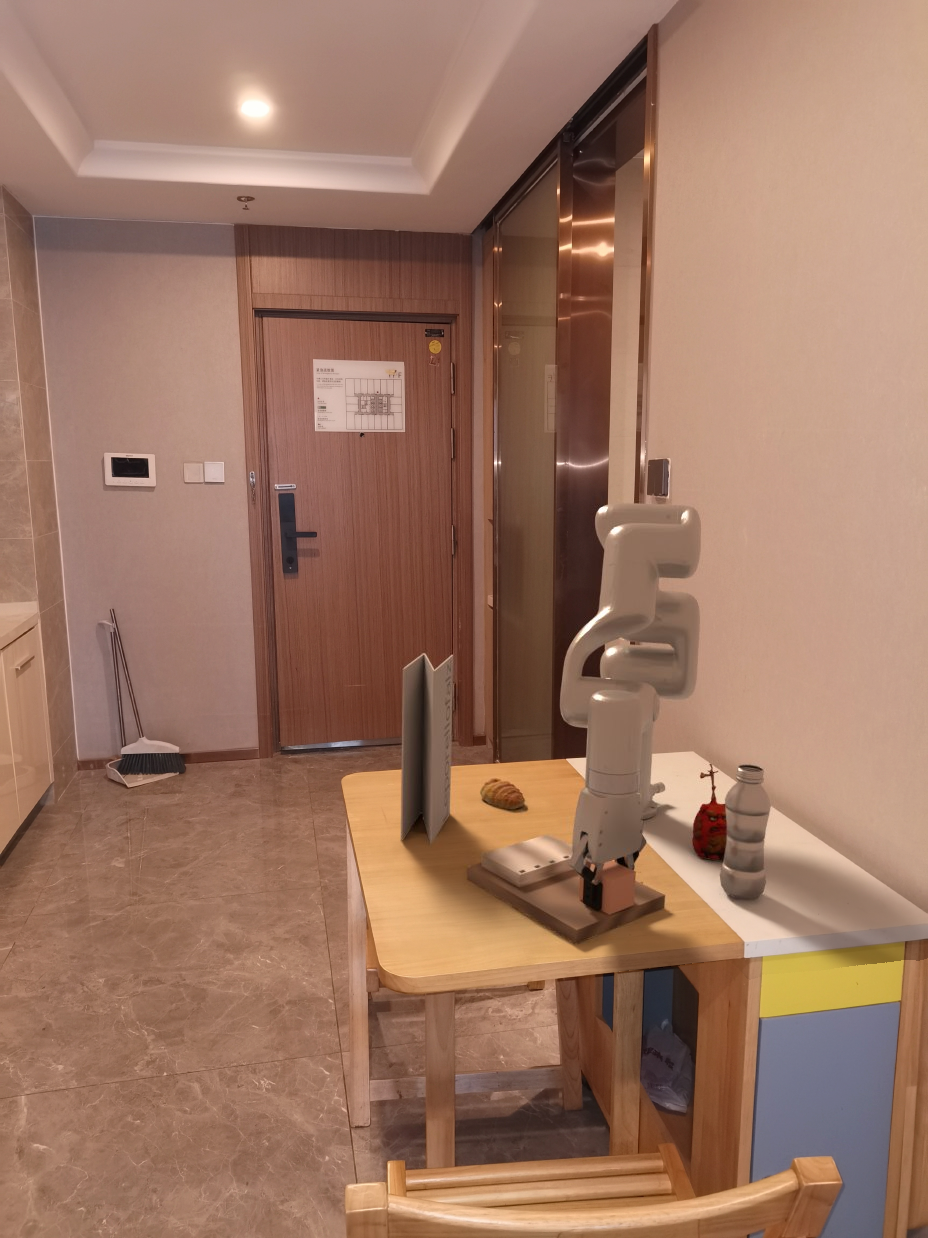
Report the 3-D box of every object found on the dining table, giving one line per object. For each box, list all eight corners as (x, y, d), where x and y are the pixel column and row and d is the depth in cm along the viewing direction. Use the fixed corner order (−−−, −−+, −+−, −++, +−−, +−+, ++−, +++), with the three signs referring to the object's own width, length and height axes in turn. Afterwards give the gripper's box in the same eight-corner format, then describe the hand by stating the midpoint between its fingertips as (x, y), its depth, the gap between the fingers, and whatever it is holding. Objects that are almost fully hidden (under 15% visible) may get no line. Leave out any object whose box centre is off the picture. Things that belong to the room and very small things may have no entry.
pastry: (533, 807, 172) (534, 788, 171) (506, 814, 168) (506, 795, 167) (502, 792, 179) (503, 774, 178) (475, 799, 175) (476, 781, 175)
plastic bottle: (758, 909, 132) (768, 778, 129) (712, 897, 136) (721, 769, 132) (769, 892, 137) (779, 766, 134) (725, 881, 141) (734, 758, 138)
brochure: (431, 843, 153) (435, 671, 148) (400, 840, 154) (402, 668, 149) (449, 813, 167) (453, 654, 162) (421, 811, 168) (423, 653, 163)
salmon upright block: (603, 889, 132) (604, 857, 132) (633, 905, 128) (635, 871, 127) (578, 898, 129) (580, 865, 129) (609, 914, 125) (611, 880, 124)
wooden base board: (552, 852, 150) (553, 829, 150) (664, 908, 132) (665, 881, 131) (467, 879, 140) (467, 854, 139) (576, 944, 121) (577, 915, 120)
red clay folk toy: (700, 864, 147) (706, 776, 145) (683, 846, 154) (688, 762, 152) (744, 862, 148) (750, 774, 146) (725, 845, 155) (731, 761, 153)
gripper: (633, 761, 134) (627, 877, 137) (549, 783, 123) (544, 907, 126) (673, 775, 128) (665, 895, 131) (588, 799, 118) (582, 929, 120)
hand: (606, 900), depth 128 cm, fingers closed on salmon upright block, 5 cm apart
